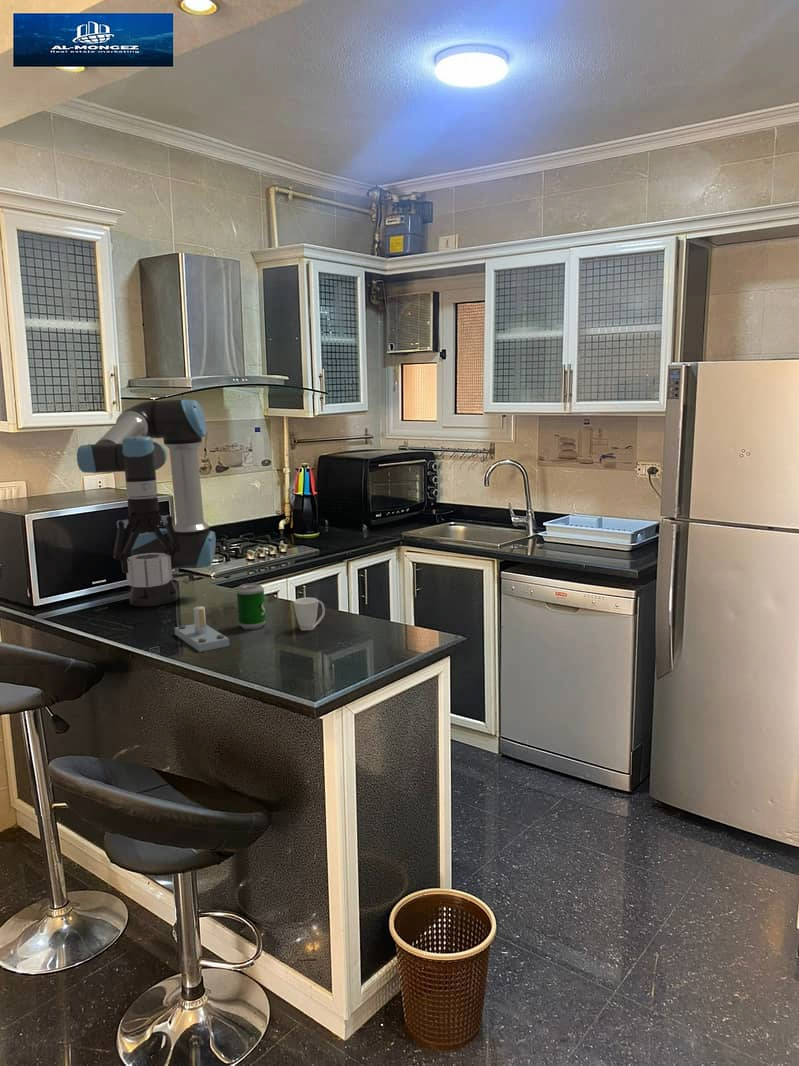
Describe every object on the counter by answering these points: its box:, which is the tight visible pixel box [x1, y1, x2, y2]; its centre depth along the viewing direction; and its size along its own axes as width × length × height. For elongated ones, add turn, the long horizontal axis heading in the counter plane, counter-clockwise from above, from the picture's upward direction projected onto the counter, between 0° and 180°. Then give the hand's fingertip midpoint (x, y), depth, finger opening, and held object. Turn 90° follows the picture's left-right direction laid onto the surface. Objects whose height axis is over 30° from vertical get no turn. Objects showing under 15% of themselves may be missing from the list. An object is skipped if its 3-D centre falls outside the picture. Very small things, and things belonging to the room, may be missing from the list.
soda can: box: [236, 582, 267, 630], centre depth 223 cm, size 8×8×12 cm
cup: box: [292, 597, 326, 631], centre depth 221 cm, size 7×10×8 cm
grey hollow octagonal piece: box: [128, 553, 170, 587], centre depth 205 cm, size 10×10×7 cm
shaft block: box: [174, 606, 230, 653], centre depth 212 cm, size 20×8×9 cm, turn 34°
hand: (150, 581), depth 206 cm, fingers closed on grey hollow octagonal piece, 9 cm apart
